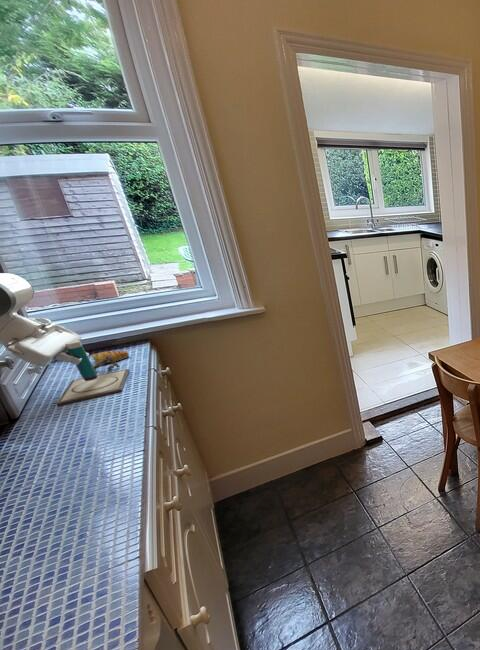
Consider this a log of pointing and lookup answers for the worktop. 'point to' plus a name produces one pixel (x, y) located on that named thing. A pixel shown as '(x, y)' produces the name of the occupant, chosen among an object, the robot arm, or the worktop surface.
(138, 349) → the worktop surface
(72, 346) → the dot marker
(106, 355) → the pastry
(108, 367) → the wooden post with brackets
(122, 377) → the drawing board
